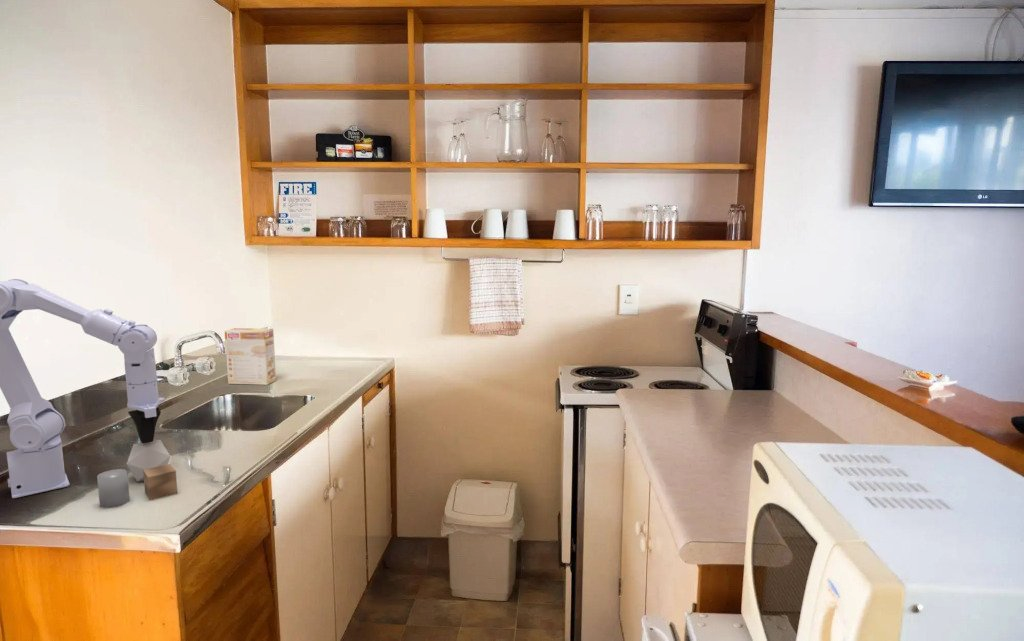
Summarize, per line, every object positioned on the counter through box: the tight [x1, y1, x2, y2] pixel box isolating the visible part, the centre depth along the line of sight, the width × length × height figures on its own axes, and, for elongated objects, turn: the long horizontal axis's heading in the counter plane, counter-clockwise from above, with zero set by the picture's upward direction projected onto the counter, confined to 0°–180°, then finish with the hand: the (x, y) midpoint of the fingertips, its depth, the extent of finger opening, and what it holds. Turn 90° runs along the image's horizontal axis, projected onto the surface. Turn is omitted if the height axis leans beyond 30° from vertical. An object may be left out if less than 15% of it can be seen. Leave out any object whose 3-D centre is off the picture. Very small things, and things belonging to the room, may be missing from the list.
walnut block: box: [143, 463, 178, 501], centre depth 125 cm, size 5×5×5 cm
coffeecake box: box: [224, 327, 277, 386], centre depth 217 cm, size 15×7×20 cm, turn 84°
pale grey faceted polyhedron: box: [126, 439, 171, 483], centre depth 133 cm, size 8×9×10 cm
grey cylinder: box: [96, 468, 131, 509], centre depth 121 cm, size 5×5×6 cm
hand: (147, 441), depth 132 cm, fingers closed
